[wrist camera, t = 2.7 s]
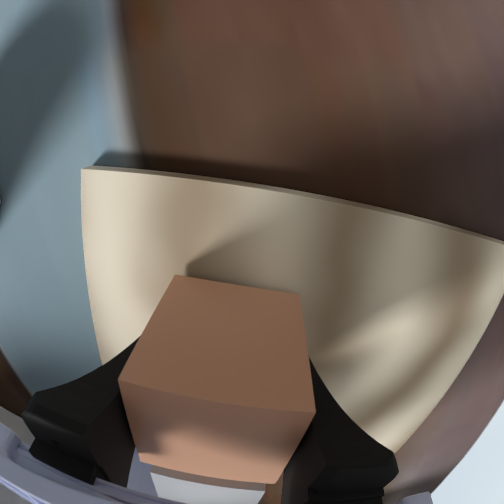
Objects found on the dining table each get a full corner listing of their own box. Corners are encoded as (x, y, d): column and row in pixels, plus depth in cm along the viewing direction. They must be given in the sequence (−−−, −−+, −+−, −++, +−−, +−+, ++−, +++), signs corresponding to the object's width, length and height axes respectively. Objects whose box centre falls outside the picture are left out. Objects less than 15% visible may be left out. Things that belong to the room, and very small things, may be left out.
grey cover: (179, 428, 19) (160, 502, 13) (177, 383, 17) (149, 472, 11) (254, 440, 19) (248, 516, 13) (267, 397, 17) (265, 491, 11)
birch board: (123, 417, 21) (119, 426, 20) (91, 165, 13) (81, 168, 12) (393, 444, 21) (395, 452, 20) (511, 243, 13) (521, 250, 12)
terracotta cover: (174, 362, 16) (140, 461, 10) (175, 274, 13) (117, 379, 7) (275, 379, 16) (274, 483, 10) (299, 294, 13) (315, 412, 7)
